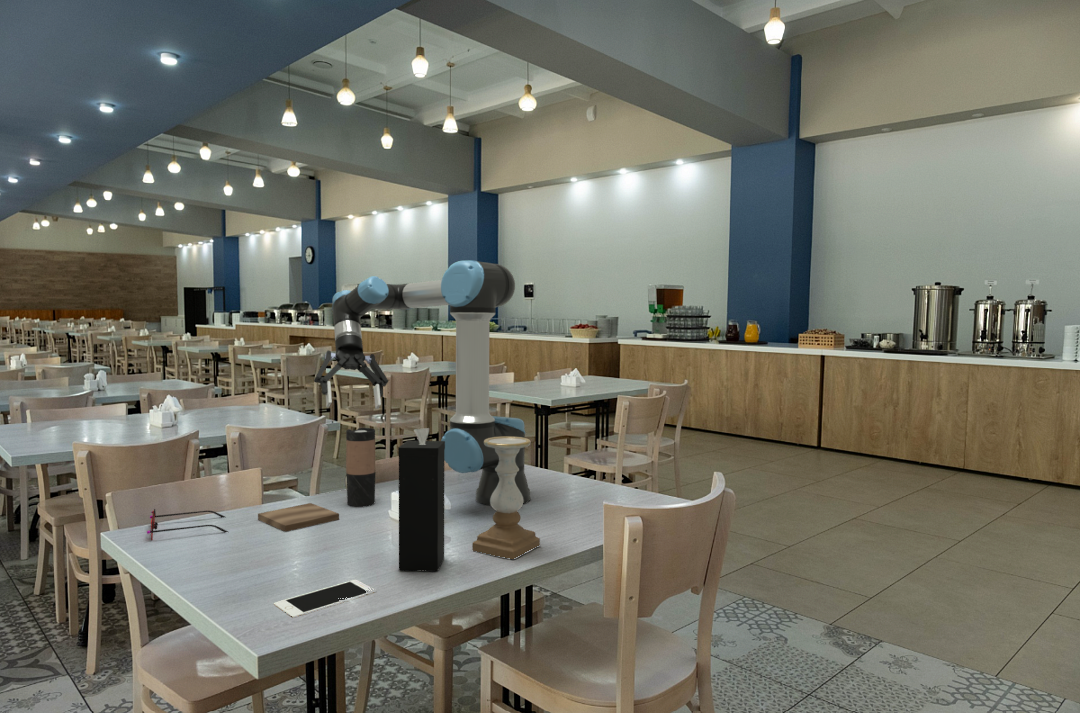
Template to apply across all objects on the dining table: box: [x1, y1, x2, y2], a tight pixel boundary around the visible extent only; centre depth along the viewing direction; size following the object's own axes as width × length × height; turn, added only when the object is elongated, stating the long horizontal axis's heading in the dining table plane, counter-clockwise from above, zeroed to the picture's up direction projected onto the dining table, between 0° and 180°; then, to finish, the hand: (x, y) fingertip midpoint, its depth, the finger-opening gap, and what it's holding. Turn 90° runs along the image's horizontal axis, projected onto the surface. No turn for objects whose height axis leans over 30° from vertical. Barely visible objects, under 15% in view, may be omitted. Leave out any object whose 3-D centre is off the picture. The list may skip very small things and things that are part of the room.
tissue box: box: [397, 427, 445, 572], centre depth 139 cm, size 8×8×28 cm
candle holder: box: [471, 436, 541, 559], centre depth 149 cm, size 11×11×24 cm
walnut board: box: [257, 502, 340, 533], centre depth 170 cm, size 14×14×2 cm
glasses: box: [146, 508, 229, 541], centre depth 162 cm, size 14×16×5 cm
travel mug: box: [345, 427, 377, 508], centre depth 185 cm, size 8×8×20 cm
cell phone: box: [273, 579, 375, 618], centre depth 123 cm, size 8×16×1 cm, turn 135°
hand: (354, 405), depth 189 cm, fingers open, 13 cm apart
